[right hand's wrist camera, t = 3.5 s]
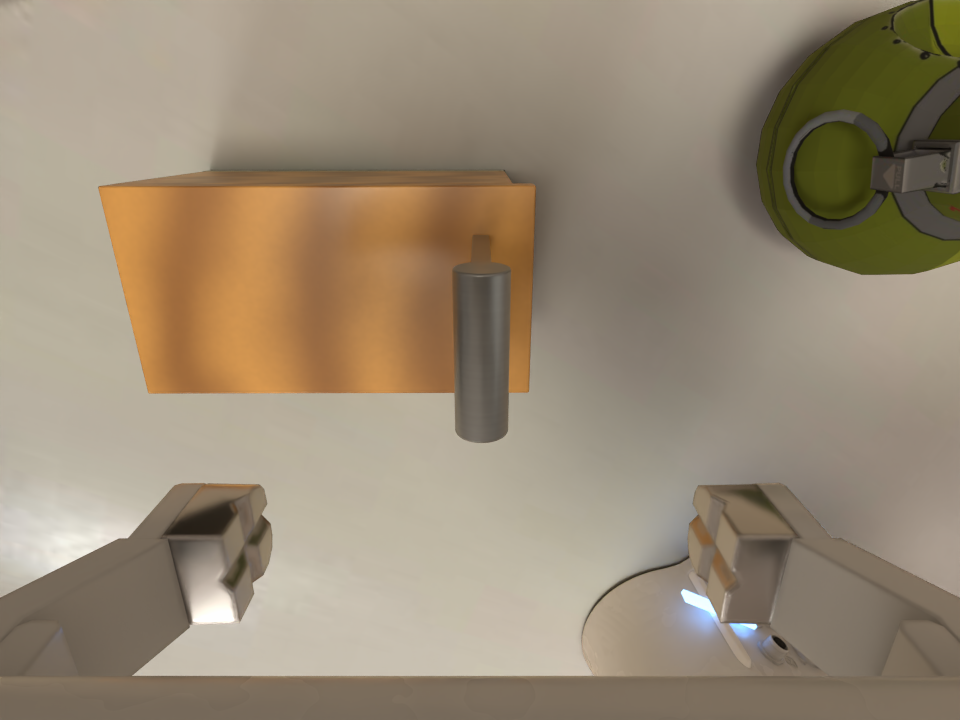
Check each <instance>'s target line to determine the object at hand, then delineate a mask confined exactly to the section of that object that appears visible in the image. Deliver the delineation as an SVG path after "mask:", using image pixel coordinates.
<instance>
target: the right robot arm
mask: <svg viewBox="0 0 960 720" xmlns="http://www.w3.org/2000/svg"><path fill="white" fill-rule="evenodd" d="M266 505H267V500H266V495H265V491H264V488H263V487H262V486H260V485H259V484H211V483H208V484H205V483H181V484H178V485H175V486H174V487H173V488H172V489H171V490H170V491H169V492H168V493H167V495H166V496H165V497H164V498H163V499H162V500H161V501H160V503H159V504H158V505H157V506H156V507H155V508H154V509H153V510H152V512H151V513H150V514H149V515H148V516H147V517H146V518H145V520H144V521H143V522H142V523H141V524H140V525H139V526H138V528H137V529H136V530H135V531H134V532H133V533H132V534H131V535H130V537H129V538H128V539H117V540H115V541H113V542H111V543H109V544H107V545H105V546H103V547H101V548H99V549H97V550H95V551H93V552H91V553H89V554H87V555H85V556H83V557H81V558H79V559H77V560H75V561H73V562H71V563H69V564H67V565H65V566H63V567H61V568H59V569H57V570H55V571H53V572H51V573H49V574H47V575H45V576H43V577H41V578H39V579H37V580H35V581H33V582H31V583H29V584H27V585H25V586H23V587H21V588H19V589H17V590H15V591H13V592H11V593H9V594H7V595H5V596H3V597H1V598H0V720H960V598H959V597H957V596H955V595H953V594H951V593H949V592H947V591H945V590H943V589H941V588H939V587H937V586H935V585H933V584H931V583H929V582H927V581H925V580H923V579H921V578H919V577H917V576H915V575H913V574H911V573H909V572H907V571H905V570H903V569H901V568H899V567H897V566H895V565H893V564H891V563H889V562H887V561H885V560H883V559H881V558H879V557H877V556H875V555H873V554H871V553H869V552H867V551H865V550H863V549H861V548H859V547H857V546H855V545H853V544H851V543H849V542H847V541H845V540H843V539H832V538H831V537H830V535H829V534H828V533H827V532H826V531H825V530H824V529H823V528H822V526H821V525H820V524H819V523H818V522H817V521H816V520H815V518H814V517H813V516H812V515H811V514H810V513H809V512H808V510H807V509H806V508H805V507H804V506H803V505H802V504H801V503H800V501H799V500H798V499H797V498H796V497H795V496H794V495H793V493H792V492H791V491H790V490H789V489H788V488H787V487H786V486H785V485H783V484H780V483H763V484H744V485H698V487H697V489H696V491H695V494H694V500H693V505H694V507H695V509H696V511H697V512H698V514H699V515H698V516H697V517H696V518H695V519H694V520H693V521H692V522H691V523H690V524H689V531H688V538H687V540H688V552H689V557H690V558H688V559H687V560H685V561H683V562H682V563H680V564H678V565H675V566H671V567H668V568H664V569H659V570H655V571H651V572H648V573H645V574H642V575H639V576H637V577H634V578H632V579H630V580H628V581H626V582H624V583H622V584H621V585H619V586H618V587H616V588H615V589H613V590H612V591H611V592H609V593H608V594H607V595H606V596H605V597H604V598H603V599H602V600H601V601H600V602H599V603H598V604H597V605H596V606H595V608H594V609H593V610H592V612H591V613H590V615H589V617H588V619H587V621H586V623H585V626H584V630H583V634H582V650H583V655H584V658H585V661H586V663H587V665H588V666H589V668H590V670H591V671H592V673H593V675H594V676H132V675H133V674H134V673H136V672H137V671H138V670H139V669H140V668H142V667H143V666H144V665H145V664H146V663H148V662H149V661H150V660H151V659H152V658H154V657H155V656H156V655H157V654H158V653H160V652H161V651H162V650H163V649H164V648H166V647H167V646H168V645H169V644H170V643H172V642H173V641H174V640H175V639H176V638H178V637H179V636H180V635H181V634H182V633H183V632H185V631H186V630H187V629H188V628H189V627H190V625H193V624H228V623H240V621H241V619H242V617H243V615H244V613H245V611H246V609H247V607H248V605H249V603H250V601H251V599H252V597H253V595H254V590H253V585H252V583H253V582H254V581H256V580H257V579H258V578H260V577H261V576H263V575H264V573H265V570H266V568H267V566H268V564H269V560H270V555H271V551H272V530H271V524H270V523H269V522H268V521H267V520H266V519H265V518H264V517H263V516H262V515H261V514H262V512H263V511H264V509H265V507H266Z"/></svg>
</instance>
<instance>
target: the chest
mask: <svg viewBox="0 0 960 720" xmlns="http://www.w3.org/2000/svg"><path fill="white" fill-rule="evenodd" d="M493 183H512V182H511V180H510V179H509V177H508V176H507V174H506V173H505V170H257V171H203V172H197V173H190V174H183V175H176V176H168V177H161V178H154V179H147V180H140V181H132V182H125V183H118V184H493Z"/></svg>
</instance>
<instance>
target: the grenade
mask: <svg viewBox="0 0 960 720" xmlns="http://www.w3.org/2000/svg"><path fill="white" fill-rule="evenodd" d="M756 166H757V173H758V180H759V186H760V193H761V199H762V202H763V204H764V206H765V208H766V210H767V211H768V213H769V215H770V217H771V219H772V221H773V222H774V224H775V226H776V228H777V230H778V231H779V232H780V233H781V234H782V235H783V236H784V237H785V238H786V239H788V240H789V241H790V242H791V243H792V244H794V245H795V246H796V247H797V248H798V249H800V250H801V251H802V252H803V253H804V254H806V255H807V256H809V257H811V258H813V259H815V260H818V261H821V262H824V263H827V264H830V265H833V266H836V267H839V268H842V269H845V270H848V271H851V272H854V273H858V274H861V275H884V274H915V273H920V272H924V271H928V270H932V269H935V268H938V267H941V266H945V265H948V264H951V263H955V262H958V261H960V0H917V1H910V2H908V3H905V4H902V5H900V6H897V7H895V8H892V9H889V10H887V11H884V12H882V13H879V14H876V15H874V16H871V17H868V18H866V19H863V20H860V21H857V22H855V23H853V24H852V25H851V26H849V27H848V28H846V29H845V30H844V31H842V32H841V33H840V34H838V35H837V36H835V37H834V38H833V39H831V40H830V41H829V42H827V43H826V44H824V45H823V46H822V47H820V48H819V49H818V50H816V51H815V52H814V53H812V54H811V55H810V56H808V58H807V59H806V60H805V61H804V62H803V64H802V65H801V66H800V67H799V69H798V70H797V71H796V72H795V74H794V75H793V76H792V77H791V78H790V80H789V81H788V82H787V83H786V85H785V86H784V87H783V88H782V89H781V91H780V92H779V94H778V96H777V98H776V100H775V102H774V105H773V107H772V109H771V111H770V113H769V115H768V118H767V120H766V122H765V124H764V126H763V129H762V132H761V138H760V144H759V151H758V157H757V163H756Z"/></svg>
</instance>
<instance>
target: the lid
mask: <svg viewBox="0 0 960 720" xmlns="http://www.w3.org/2000/svg"><path fill="white" fill-rule="evenodd" d="M99 192H100V197H101V201H102V205H103V209H104V213H105V217H106V221H107V225H108V229H109V233H110V237H111V242H112V246H113V250H114V254H115V258H116V262H117V266H118V270H119V274H120V278H121V283H122V287H123V291H124V295H125V299H126V303H127V307H128V311H129V315H130V319H131V323H132V328H133V332H134V336H135V340H136V344H137V348H138V352H139V356H140V360H141V364H142V368H143V373H144V377H145V381H146V385H147V389H148V393H455V430H456V433H457V434H458V436H459V437H461V438H462V439H464V440H467V441H470V442H475V443H488V442H493V441H497V440H499V439H501V438H503V437H504V436H505V435H506V433H507V432H508V405H509V393H521V392H529V376H530V347H531V317H532V288H533V258H534V229H535V199H536V186H535V185H534V184H532V183H493V184H111V185H104V186H99Z"/></svg>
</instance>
